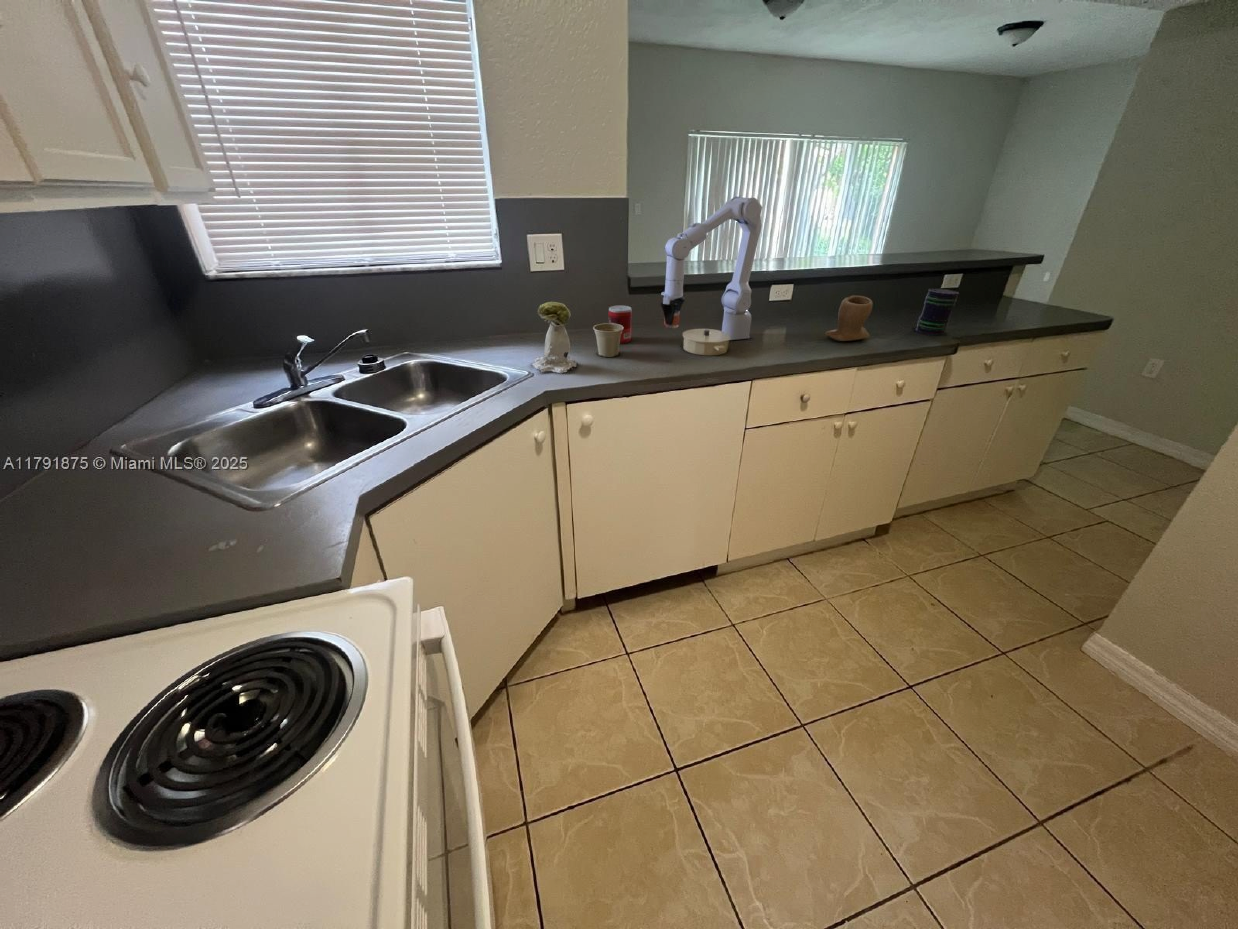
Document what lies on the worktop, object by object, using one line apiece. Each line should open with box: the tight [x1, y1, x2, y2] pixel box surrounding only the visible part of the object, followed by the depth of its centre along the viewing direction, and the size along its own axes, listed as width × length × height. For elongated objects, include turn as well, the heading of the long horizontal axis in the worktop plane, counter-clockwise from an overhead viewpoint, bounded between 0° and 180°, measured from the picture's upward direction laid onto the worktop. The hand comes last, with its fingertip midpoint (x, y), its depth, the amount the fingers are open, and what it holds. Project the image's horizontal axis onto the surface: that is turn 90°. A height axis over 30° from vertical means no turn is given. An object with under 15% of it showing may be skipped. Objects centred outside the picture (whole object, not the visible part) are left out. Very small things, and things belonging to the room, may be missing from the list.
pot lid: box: [682, 328, 731, 344], centre depth 159 cm, size 16×16×3 cm
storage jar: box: [915, 287, 960, 336], centre depth 182 cm, size 10×10×15 cm
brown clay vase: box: [825, 295, 873, 342], centre depth 170 cm, size 15×12×15 cm
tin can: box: [663, 310, 681, 329], centre depth 162 cm, size 5×5×5 cm
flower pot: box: [592, 322, 624, 358], centre depth 152 cm, size 9×9×9 cm
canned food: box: [608, 304, 633, 345], centre depth 165 cm, size 8×8×11 cm
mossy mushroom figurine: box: [532, 301, 578, 374], centre depth 139 cm, size 12×13×18 cm
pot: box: [682, 336, 730, 356], centre depth 161 cm, size 15×20×4 cm
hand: (671, 322), depth 162 cm, fingers closed on tin can, 5 cm apart
